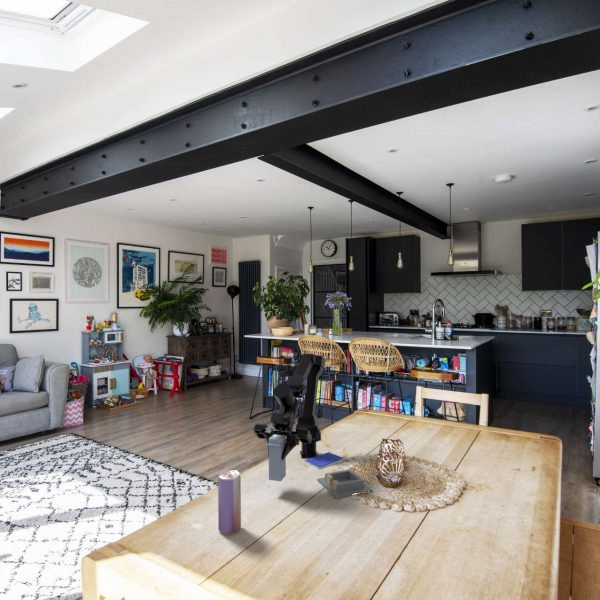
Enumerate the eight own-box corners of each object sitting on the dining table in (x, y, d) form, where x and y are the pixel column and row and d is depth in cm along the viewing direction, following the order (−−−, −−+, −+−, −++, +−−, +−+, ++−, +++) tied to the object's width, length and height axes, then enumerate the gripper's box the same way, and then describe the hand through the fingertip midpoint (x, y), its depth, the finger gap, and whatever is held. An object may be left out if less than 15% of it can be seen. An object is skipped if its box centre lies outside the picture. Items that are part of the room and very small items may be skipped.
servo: (275, 472, 142) (275, 430, 141) (286, 474, 140) (286, 431, 140) (267, 481, 135) (267, 437, 135) (279, 482, 134) (279, 438, 134)
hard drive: (328, 451, 170) (304, 459, 162) (343, 457, 164) (318, 466, 156) (328, 455, 170) (304, 463, 162) (343, 462, 164) (318, 470, 156)
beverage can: (222, 538, 112) (221, 481, 112) (215, 527, 118) (215, 472, 117) (244, 532, 115) (243, 476, 115) (236, 521, 121) (236, 468, 120)
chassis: (317, 480, 146) (317, 471, 146) (351, 474, 151) (351, 465, 151) (336, 499, 133) (336, 489, 133) (372, 491, 138) (372, 482, 138)
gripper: (255, 399, 144) (240, 443, 134) (308, 403, 138) (297, 450, 128) (264, 416, 152) (251, 459, 141) (316, 421, 146) (306, 466, 135)
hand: (275, 458), depth 136 cm, fingers closed on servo, 4 cm apart
